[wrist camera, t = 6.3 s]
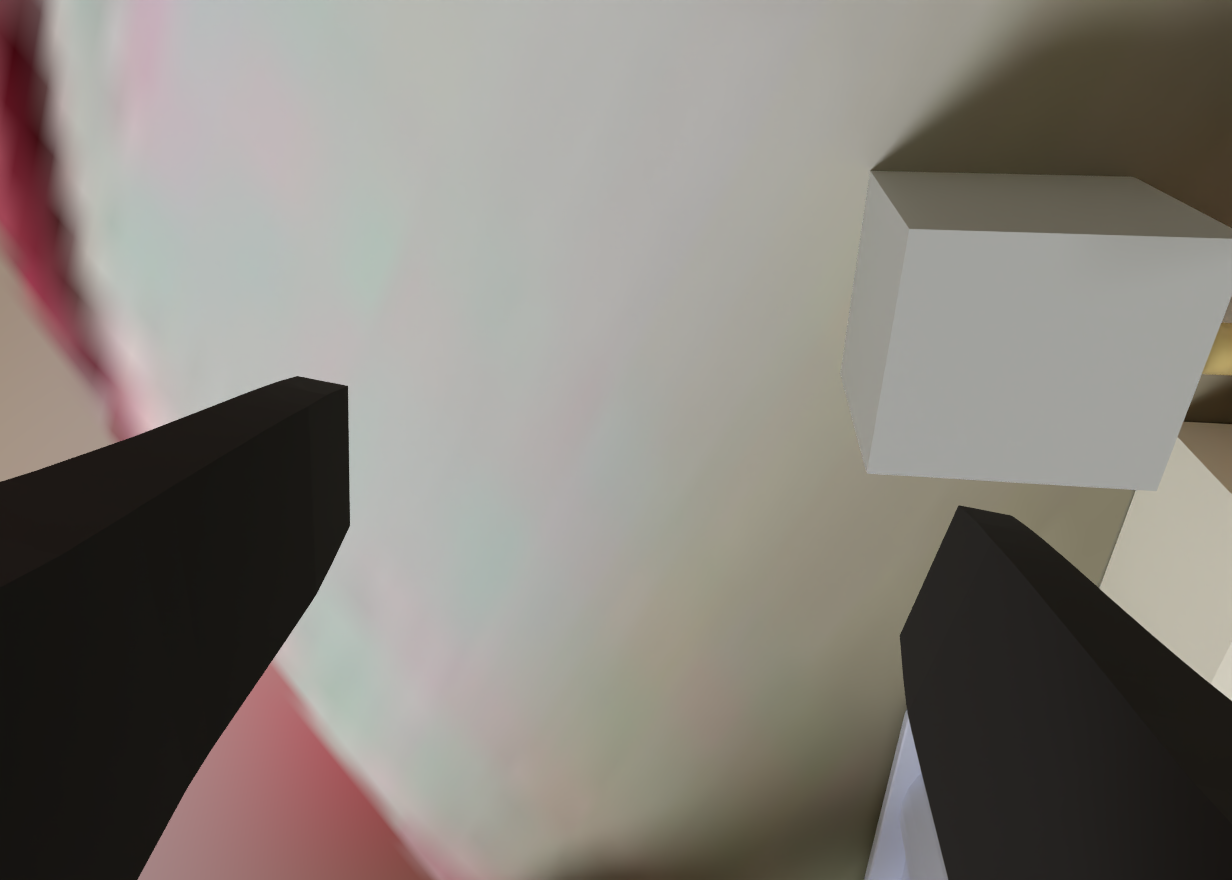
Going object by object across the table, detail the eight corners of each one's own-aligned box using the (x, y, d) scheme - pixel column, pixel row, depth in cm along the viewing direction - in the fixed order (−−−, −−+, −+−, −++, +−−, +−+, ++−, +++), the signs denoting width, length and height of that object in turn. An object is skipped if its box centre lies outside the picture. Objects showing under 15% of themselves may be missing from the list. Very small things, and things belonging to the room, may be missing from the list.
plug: (1126, 386, 18) (1230, 495, 14) (839, 371, 19) (867, 473, 15) (1196, 177, 16) (1339, 242, 12) (869, 169, 17) (909, 228, 13)
